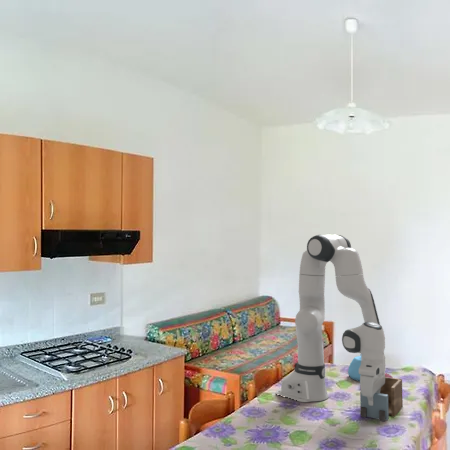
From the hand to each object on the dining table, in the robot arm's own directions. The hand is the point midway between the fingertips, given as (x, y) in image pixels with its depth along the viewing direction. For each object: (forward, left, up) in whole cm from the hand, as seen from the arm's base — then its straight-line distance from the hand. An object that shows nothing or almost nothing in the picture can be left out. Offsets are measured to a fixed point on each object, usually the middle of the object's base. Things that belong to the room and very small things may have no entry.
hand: (374, 402), depth 184 cm
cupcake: (-6, +36, -6) cm, 37 cm away
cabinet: (0, +7, -6) cm, 9 cm away
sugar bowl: (-19, +49, -6) cm, 53 cm away
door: (0, 0, -6) cm, 6 cm away
